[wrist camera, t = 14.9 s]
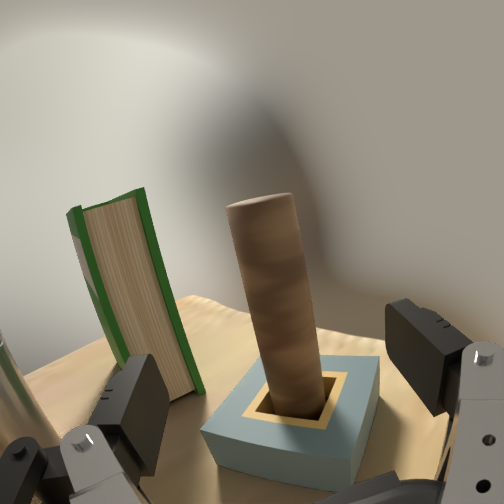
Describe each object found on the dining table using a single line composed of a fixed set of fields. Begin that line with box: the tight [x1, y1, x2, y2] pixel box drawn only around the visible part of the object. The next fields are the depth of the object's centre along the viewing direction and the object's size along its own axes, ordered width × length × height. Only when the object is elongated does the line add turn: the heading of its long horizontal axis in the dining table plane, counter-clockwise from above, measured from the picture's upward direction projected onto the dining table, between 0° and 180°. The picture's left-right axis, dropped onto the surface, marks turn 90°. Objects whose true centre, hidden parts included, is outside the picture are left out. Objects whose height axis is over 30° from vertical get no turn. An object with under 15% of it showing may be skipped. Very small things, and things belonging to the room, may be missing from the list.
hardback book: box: [66, 187, 206, 401], centre depth 37 cm, size 18×7×24 cm, turn 36°
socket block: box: [200, 355, 380, 492], centre depth 25 cm, size 12×12×5 cm
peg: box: [226, 193, 326, 421], centre depth 23 cm, size 4×4×20 cm
